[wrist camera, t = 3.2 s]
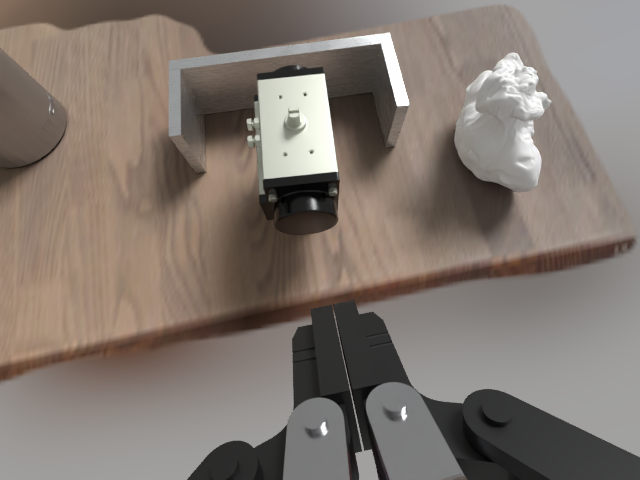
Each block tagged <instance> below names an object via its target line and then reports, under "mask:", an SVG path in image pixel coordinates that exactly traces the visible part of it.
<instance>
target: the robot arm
mask: <svg viewBox="0 0 640 480" xmlns="http://www.w3.org/2000/svg"><path fill="white" fill-rule="evenodd" d="M65 127H66V113H65V110H64V108H63V106H62V105H61V103H60V102H58V101H57V100H56V99H55V98H54V97H53V96H52V95H51V94H50V93H49V92H48V91H47V90H45V89H44V88H43V87H42V86H41V85H40V84H39V83H38V82H37V81H36V80H35V79H33V78H32V77H31V76H30V75H29V74H28V73H27V72H26V71H25V70H24V69H23V68H22V67H21V66H20V65H19V64H17V63H16V62H15V61H14V60H13V59H12V58H11V57H10V56H9V55H8V54H7V53H5V52H4V51H3V50H2V49H1V48H0V167H4V168H14V167H21V166H24V165H28V164H31V163H33V162H35V161H37V160H39V159H40V158H42V157H43V156H45V155H46V154H48V153H49V152H50V151H51V150H52V149H53V148H54V147H55V146H56V145H57V143H58V142H59V141H60V139H61V137H62V135H63V133H64V131H65ZM333 305H334V311H335V316H336V320H337V326H338V330H339V335H340V341H341V346H342V350H343V355H344V360H345V364H346V369H347V374H348V378H349V383H350V387H351V391H352V396H353V401H354V405H355V410H356V414H357V419H358V423H359V428H360V433H361V437H362V442H363V446H364V450H370V449H372V451H373V456H374V460H375V464H376V468H377V474H378V479H379V480H640V457H638V456H636V455H633V454H631V453H629V452H627V451H625V450H623V449H621V448H619V447H617V446H615V445H613V444H611V443H609V442H607V441H605V440H602V439H600V438H598V437H596V436H594V435H592V434H590V433H588V432H586V431H584V430H582V429H580V428H578V427H576V426H573V425H571V424H569V423H567V422H565V421H563V420H561V419H559V418H556V417H555V416H552V415H551V414H549V413H546V412H544V411H542V410H540V409H538V408H536V407H534V406H532V405H530V404H528V403H526V402H524V401H522V400H519V399H518V398H515V397H513V396H511V395H509V394H507V393H504V392H501V391H498V390H492V389H483V390H478V391H475V392H473V393H472V394H470V395H468V397H467V398H466V399H465V401H464V403H463V404H462V403H451V402H441V401H436V400H432V399H430V398H427V397H425V396H423V395H422V394H420V393H419V392H418V391H417V390H416V389H414V387H413V386H412V385H411V383H410V382H409V379H408V377H407V375H406V372H405V370H404V368H403V365H402V363H401V361H400V358H399V356H398V354H397V351H396V349H395V348H394V344H393V343H392V340H391V337H390V335H389V334H388V330H387V329H386V326H385V323H384V321H383V320H382V319H381V318H380V317H378V316H377V315H376V314H375V313H374V312H369V313H365V314H360V315H359V313H358V310H357V307H356V304H355V301H354V300H352V301H348V302H343V303H338V304H333ZM311 316H312V325H307V326H303V327H298V329H297V331H296V333H295V335H294V337H293V339H292V347H293V348H292V349H293V388H294V409H293V412H292V413H291V415H290V417H289V420H288V424H287V425H286V426H285V428H284V429H283V430H282V431H281V432H280V433H278V434H277V435H276V436H274V437H273V438H271V439H269V440H268V441H266V442H264V443H262V444H261V445H258V446H257V447H255V448H253V447H252V446H251V445H249V444H248V443H246V442H243V441H231V442H227V443H225V444H223V445H220V446H219V447H217V448H216V449H214V450H213V451H212V452H211V453H210V454H209V455H208V456H207V457H206V458H205V459H204V460H203V462H202V463H201V464H200V465H199V466H198V467H197V469H196V470H195V471H194V472H193V473H192V474H191V476H190V477H189V478H188V479H187V480H359V472H358V466H357V461H356V456H355V453H356V452H361V451H362V449H361V444H360V439H359V434H358V429H357V424H356V419H355V414H354V409H353V404H352V398H351V393H350V389H349V384H348V379H347V375H346V370H345V365H344V361H343V357H342V351H341V347H340V342H339V337H338V333H337V328H336V323H335V319H334V314H333V310H332V305H329V306H324V307H319V308H314V309H311Z"/></svg>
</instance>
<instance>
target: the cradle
mask: <svg viewBox="0 0 640 480" xmlns="http://www.w3.org/2000/svg"><path fill="white" fill-rule="evenodd" d="M288 65H299V66H303V67H307V68H315V67H324V72H325V79H326V86H327V94H328V98H334V97H341V96H349V95H356V94H364V93H372V92H373V97H374V101H375V105H376V109H377V114H378V118H379V122H380V126H381V131H382V135H383V139H384V143H385V148H386V147H394V146H396V143H397V140H398V137H399V134H400V131H401V128H402V125H403V122H404V119H405V116H406V113H407V110H408V107H409V102H408V98H407V95H406V91H405V87H404V84H403V80H402V76H401V73H400V69H399V65H398V62H397V58H396V54H395V51H394V47H393V43H392V40H391V36H390V33H384V34H376V35H368V36H360V37H352V38H344V39H337V40H329V41H321V42H313V43H305V44H297V45H290V46H282V47H274V48H266V49H258V50H250V51H242V52H235V53H227V54H219V55H211V56H203V57H195V58H187V59H180V60H172V61H169V137H170V139H171V140H172V141H173V143H174V144H175V145H176V147H177V148H178V149H179V151H180V152H181V153H182V155H183V156H184V157H185V159H186V160H187V161H188V163H189V164H190V165H191V167H192V168H193V169H194V171H195V172H196V173H201V172H206V148H205V121H204V114H212V113H219V112H227V111H234V110H242V109H250V108H254V95H258V89H257V73H266V72H274V71H275V70H277V69H278V68H281V67H284V66H288Z"/></svg>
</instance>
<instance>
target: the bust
mask: <svg viewBox="0 0 640 480" xmlns="http://www.w3.org/2000/svg"><path fill="white" fill-rule="evenodd" d="M536 74H537V71H536V70H534V68H531V67H526V66H524V65H523V63H522V61H521V60H520V58H519V56H518V54H516V53H509V54H507V55H506V56H505V57H504V59H503V60H500V61H499V62H498V63H497V65H496V66H495V68H494V69H493V71H485V72H483V73H481V74H480V75H479V76H478V77H477V78H476V80H475V81H474V82H473V83H472V84H470V85H469V86H468V87H467V89H466V98H465V101H464V105H463V109H462V110H461V112H460V114H459V117H458V120H457V122H456V131H455V138H454V142H455V147H456V149H457V151H458V155H459V157H460V159H461V161H462V163H463V164H464V165H465V166H466V167H467V168H468V169H469V170H471V171H472V172H473V174H474V175H475V176H476V177H477V178H479V179H481V180H483V181H489V182H494V183H498V184H500V185H503V186H505V187H507V188H509V189H511V190H513V191H514V192H528V191H531V190H533V189H534V188H535V187H536V186H537V184H538V178H539V174H540V169H541V156H540V153H539V151H538V149H537V148H536V147H535V146H534V145H533V140H532V139H531V136H532V135H533V134H534V130H533V129H534V127H533V120H536V119H538V118H540V117H541V116H542V115H543V113H544V109H547V108H548V107H549V105H550V103H551V100H548V98H547V95H546V94H544V93H543V92H539V93H537V91H535V87H536V84H537V83H538V76H537V75H536Z"/></svg>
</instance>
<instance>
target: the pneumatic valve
mask: <svg viewBox="0 0 640 480" xmlns="http://www.w3.org/2000/svg"><path fill="white" fill-rule="evenodd" d="M257 89H258V95H254V108H255V118H254V122H253V121H252V119H251V118H250V119H247V128H248V131H254V127H255V130H256V135H255V139H253V136H248V137H247V141H248V146H249V148H255V146H254V144H256V147H257V164H258V183H259V202H260V205H261V207H262V210H263V212H264V214H265V216H266V218H267V220H272V219H274V225H275V228H276V229H277V230H279V231H280V232H283V233H287V234H294V235H306V234H314V233H319V232H322V231H325V230H328V229H330V228H332V227H333V226H335V225H336V223H337V222H338V214H337V211H338V197H339V182H340V180H339V173H338V166H337V158H336V151H335V144H334V137H333V130H332V122H331V115H330V108H329V101H328V94H327V86H326V79H325V72H324V67H315V68H307V67H303V66H299V65H288V66H284V67H281V68H278V69H277V70H275V71H274V72H266V73H257Z"/></svg>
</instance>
